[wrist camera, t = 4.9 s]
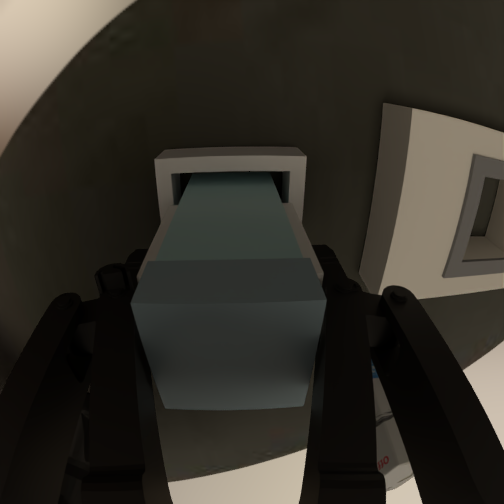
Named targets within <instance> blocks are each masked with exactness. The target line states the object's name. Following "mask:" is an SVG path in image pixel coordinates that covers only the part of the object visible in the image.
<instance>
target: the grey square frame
mask: <svg viewBox="0 0 504 504" xmlns="http://www.w3.org/2000/svg"><path fill="white" fill-rule="evenodd" d="M306 158H307V156H306V155H305V154H304V153H303V152H302V151H301V150H300V149H299V148H297V147H205V148H184V149H168V150H164V151H163V152H162V153H161V154H160V155H159V156H158V157H156V158H155V159H154V160H155V172H156V182H157V192H158V201H159V210H160V218H161V222H162V220H163V218H164V216H165V214H166V212H167V210H168V208H169V206H172V205H179V202H180V200H181V198H182V197H181V184H180V173H194V172H225V171H283V172H282V196H281V202H282V203H292V204H293V206H294V209H295V211H296V213H297V215H298V217H299V219H300V221H301V224H302V215H303V203H304V189H305V174H306Z"/></svg>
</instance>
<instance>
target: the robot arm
mask: <svg viewBox="0 0 504 504" xmlns="http://www.w3.org/2000/svg"><path fill="white" fill-rule="evenodd" d="M282 204H283V207H284V209H285V212H286V214H287V217H288V219H289V222H290V225H291V227H292V230H293V232H294V235H295V238H296V240H297V243H298V246H299V248H300V251H301V253H302V256H303V258H310V259H311V261H312V264H313V266H314V268H315V271H316V273H317V276H318V278H319V281H320V284H321V286H322V289H323V291H324V294H325V296H326V299H327V302H326V307H325V312H324V317H323V322H322V327H321V332H320V337H319V342H318V347H317V351H316V356H315V371H314V384H313V396H312V407H311V417H310V427H309V436H308V445H307V453H306V461H305V469H304V476H303V484H302V490H301V496H300V501H299V504H386V482H385V478H384V475H383V474H382V473H381V472H379V471H378V468H377V440H376V416H375V400H374V387H373V375H372V364H371V360H372V362H373V365H374V367H375V370H376V372H377V375H378V377H379V380H380V382H381V385H382V387H383V390H384V392H385V395H386V398H387V400H388V403H389V405H390V408H391V411H392V414H393V416H394V419H395V422H396V424H397V427H398V430H399V433H400V436H401V438H402V441H403V444H404V447H405V450H406V453H407V456H408V459H409V462H410V465H411V468H412V471H413V474H414V477H415V480H416V484H417V487H418V490H419V493H420V497H421V500H422V503H423V504H504V450H503V447H502V445H501V443H500V441H499V439H498V437H497V435H496V433H495V431H494V428H493V426H492V424H491V422H490V420H489V418H488V416H487V414H486V412H485V410H484V409H483V407H482V405H481V403H480V401H479V399H478V397H477V395H476V394H475V392H474V390H473V388H472V386H471V384H470V383H469V381H468V379H467V378H466V376H465V374H464V372H463V370H462V369H461V367H460V365H459V364H458V362H457V360H456V359H455V357H454V355H453V354H452V352H451V350H450V349H449V347H448V345H447V344H446V342H445V341H444V339H443V337H442V336H441V334H440V333H439V331H438V330H437V328H436V327H435V325H434V323H433V322H432V320H431V319H430V317H429V316H428V314H427V313H426V311H425V310H424V308H423V307H422V305H421V304H420V303H419V301H418V300H417V298H416V297H415V295H414V294H413V293H412V292H411V291H410V290H408V289H406V288H405V287H401V286H397V285H391V286H387V287H386V288H384V289H383V292H382V295H377V294H371V293H366V292H363V291H362V289H361V287H360V285H359V284H358V283H357V282H356V281H353V280H351V279H348V278H347V276H346V274H345V272H344V270H343V268H342V266H341V265H340V263H339V261H338V259H337V258H336V255H335V253H334V252H333V250H332V249H330V248H329V247H328V246H326V245H311V243H310V241H309V239H308V237H307V234H306V232H305V230H304V228H303V226H302V224H301V221H300V219H299V217H298V215H297V213H296V211H295V209H294V206H293V204H292V203H282ZM177 207H178V205H172V206H169V208H168V210H167V212H166V214H165V216H164V218H163V220H162V222H161V224H160V226H159V228H158V231H157V233H156V235H155V237H154V239H153V241H152V243H151V245H150V248H149V249H137V250H135V251H134V252H133V253H132V254H131V255H129V257H128V259H127V261H126V263H125V264H121V263H114V264H109V265H106V266H104V267H102V268H100V269H99V270H98V271H97V272H96V274H95V280H96V283H97V286H98V290H99V293H100V298H98V299H95V300H90V301H85V302H82V301H81V298H80V296H79V295H78V294H76V293H65V294H62V295H60V296H58V297H57V298H55V299H54V300H53V301H52V302H51V304H50V305H49V307H48V309H47V310H46V312H45V313H44V315H43V317H42V318H41V320H40V322H39V323H38V325H37V327H36V328H35V330H34V332H33V333H32V335H31V337H30V339H29V340H28V342H27V344H26V346H25V348H24V349H23V351H22V353H21V355H20V357H19V359H18V361H17V362H16V364H15V366H14V368H13V370H12V372H11V374H10V376H9V378H8V380H7V382H6V384H5V386H4V388H3V390H2V393H1V395H0V504H173V502H172V499H171V496H170V491H169V487H168V482H167V477H166V472H165V467H164V462H163V456H162V451H161V445H160V439H159V433H158V426H157V419H156V412H155V404H154V396H153V388H152V379H151V369H150V366H149V363H148V360H147V357H146V354H145V350H144V347H143V344H142V341H141V338H140V335H139V331H138V328H137V325H136V321H135V318H134V314H133V311H132V307H131V301H132V298H133V296H134V293H135V291H136V288H137V286H138V283H139V281H140V278H141V276H142V274H143V271H144V269H145V266H146V264H147V262H148V261H155V260H156V257H157V255H158V252H159V250H160V247H161V245H162V242H163V240H164V237H165V235H166V233H167V230H168V228H169V225H170V223H171V221H172V218H173V216H174V214H175V211H176V209H177ZM89 385H90V395H89V394H87V391H88V388H89Z"/></svg>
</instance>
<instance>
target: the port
mask: <svg viewBox="0 0 504 504" xmlns="http://www.w3.org/2000/svg"><path fill="white" fill-rule="evenodd" d="M485 177H490V178H495V179H500V180H499V185H498V189H497V194H496V198H495V202H494V206H493V210H492V213H491V217H490V221H489V224H488V228H487V231H486V234H485V236H470V235H471V231H472V228H473V224H474V221H475V217H476V213H477V209H478V206H479V201H480V197H481V193H482V189H483V184H484V179H485ZM359 275H360V276H361V278H362V280H363V282H364V283H365V285H366V287H367V288H368V290H369V292H370V293H371V294H377V295H382V292H383V289H384V288H386V287H387V286H391V285H397V286H401V287H405V288H406V289H408V290H410V291H411V292H412V293H413V294H414V295H415V297H416V298H417V299H424V298H433V297H441V296H450V295H458V294H465V293H473V292H480V291H487V290H494V289H500V288H504V133H503V132H500V131H497V130H494V129H491V128H488V127H485V126H482V125H478V124H475V123H472V122H468V121H464V120H461V119H457V118H453V117H450V116H446V115H442V114H437V113H433V112H429V111H424V110H420V109H415V108H410V107H405V106H400V105H394V104H388V103H383V112H382V124H381V135H380V145H379V154H378V162H377V170H376V178H375V185H374V192H373V198H372V205H371V211H370V217H369V223H368V228H367V234H366V239H365V245H364V250H363V255H362V260H361V264H360V269H359Z"/></svg>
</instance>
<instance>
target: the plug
mask: <svg viewBox="0 0 504 504" xmlns="http://www.w3.org/2000/svg"><path fill="white" fill-rule="evenodd" d="M326 302H327V299H326V296H325V294H324V291H323V289H322V286H321V284H320V281H319V278H318V276H317V273H316V271H315V268H314V266H313V264H312V261H311V259H310V258H303V256H302V253H301V251H300V248H299V246H298V243H297V240H296V238H295V235H294V232H293V230H292V227H291V225H290V222H289V219H288V217H287V214H286V212H285V209H284V207H283V204H282V202H281V199H280V197H279V194H278V192H277V189H276V187H275V184H274V182H273V179H272V177H271V174H270V172H232V173H197V174H192V176H191V178H190V180H189V182H188V184H187V187H186V189H185V191H184V193H183V196H182V198H181V200H180V202H179V205H178V207H177V209H176V211H175V214H174V216H173V218H172V221H171V223H170V225H169V228H168V230H167V233H166V235H165V237H164V240H163V242H162V245H161V247H160V250H159V252H158V255H157V257H156V260H155V261H148V262H147V264H146V266H145V269H144V271H143V274H142V276H141V278H140V281H139V283H138V286H137V288H136V291H135V293H134V296H133V298H132V301H131V307H132V311H133V314H134V318H135V321H136V325H137V328H138V331H139V335H140V338H141V341H142V344H143V347H144V350H145V354H146V357H147V360H148V363H149V366H150V368H151V371H152V374H153V377H154V380H155V383H156V385H157V388H158V391H159V394H160V396H161V399H162V401H163V404H164V407H165V409H186V410H249V409H270V408H285V407H297V406H304V402H305V398H306V394H307V390H308V386H309V382H310V378H311V373H312V369H313V365H314V360H315V356H316V351H317V347H318V342H319V337H320V332H321V327H322V322H323V317H324V312H325V307H326Z"/></svg>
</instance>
